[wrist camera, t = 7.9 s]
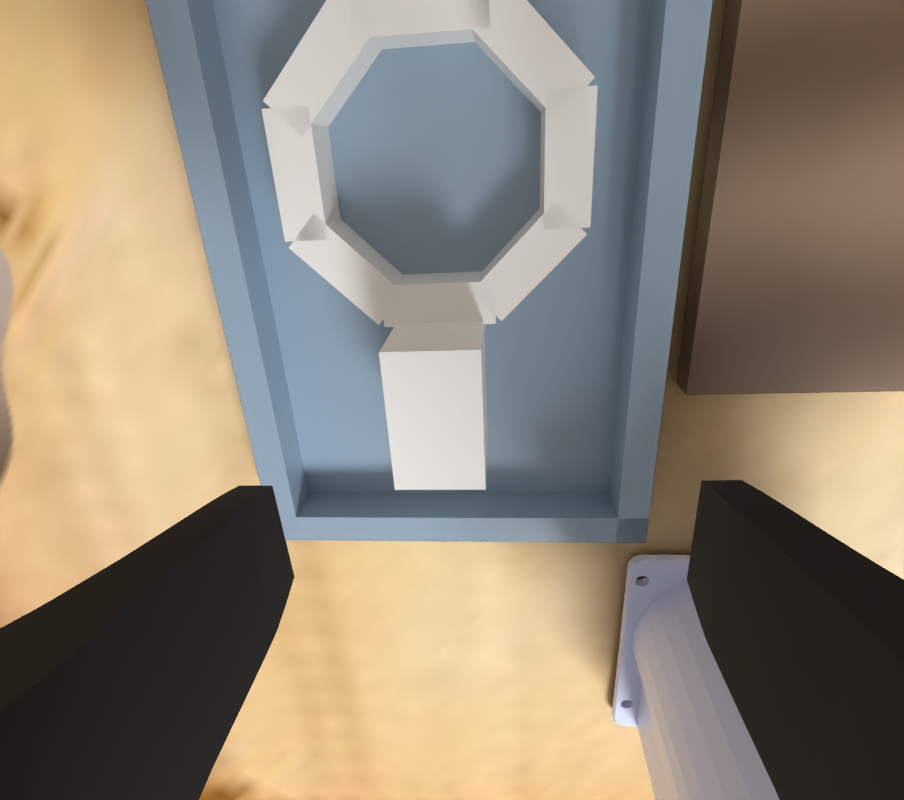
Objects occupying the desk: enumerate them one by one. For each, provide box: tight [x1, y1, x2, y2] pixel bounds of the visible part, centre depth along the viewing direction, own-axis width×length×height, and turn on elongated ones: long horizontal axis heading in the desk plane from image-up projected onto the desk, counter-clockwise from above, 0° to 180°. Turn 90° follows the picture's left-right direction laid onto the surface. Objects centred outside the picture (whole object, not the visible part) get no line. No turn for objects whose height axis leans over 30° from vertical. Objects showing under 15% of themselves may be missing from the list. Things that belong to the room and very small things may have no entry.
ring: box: [262, 0, 598, 490], centre depth 14 cm, size 12×8×4 cm
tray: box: [146, 0, 713, 543], centre depth 15 cm, size 20×13×2 cm, turn 3°
